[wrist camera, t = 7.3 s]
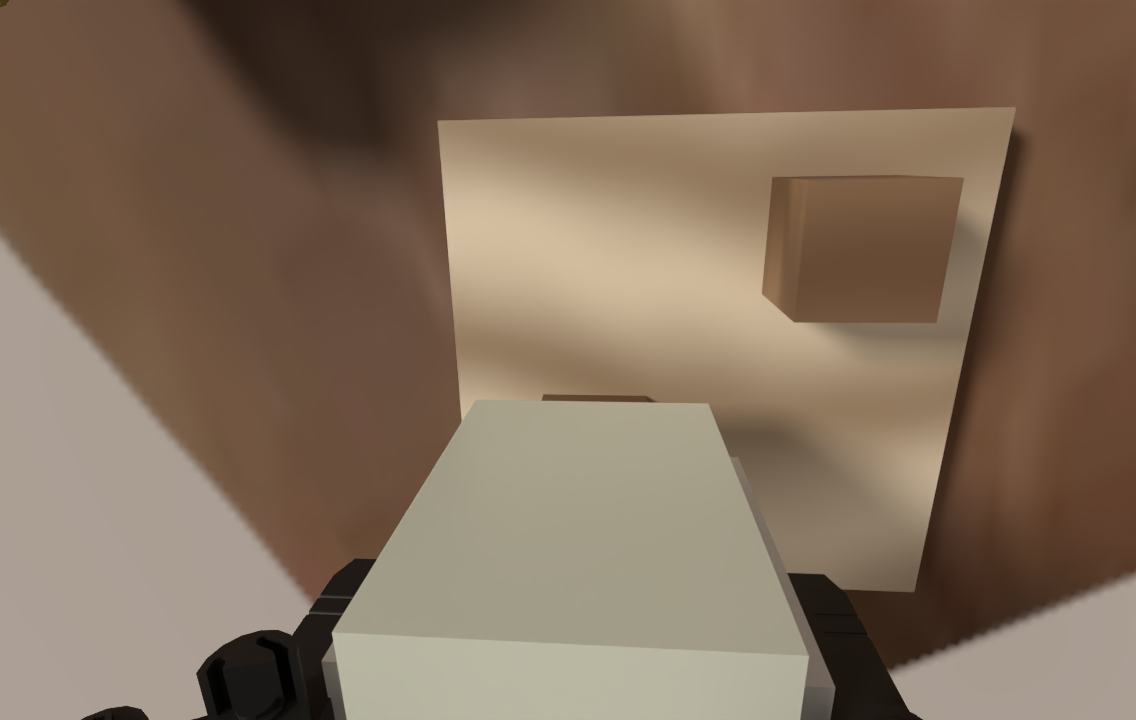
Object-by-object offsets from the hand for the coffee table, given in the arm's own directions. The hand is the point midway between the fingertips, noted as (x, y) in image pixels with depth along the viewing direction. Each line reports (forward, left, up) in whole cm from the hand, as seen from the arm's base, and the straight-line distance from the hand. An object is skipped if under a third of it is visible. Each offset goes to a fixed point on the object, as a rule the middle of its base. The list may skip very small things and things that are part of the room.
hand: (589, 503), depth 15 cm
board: (-2, +3, -4) cm, 6 cm away
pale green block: (0, 0, 0) cm, 0 cm away
